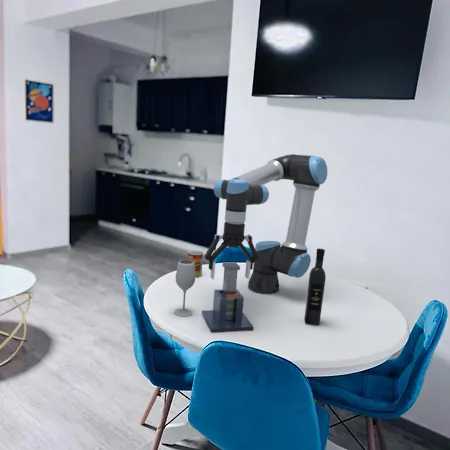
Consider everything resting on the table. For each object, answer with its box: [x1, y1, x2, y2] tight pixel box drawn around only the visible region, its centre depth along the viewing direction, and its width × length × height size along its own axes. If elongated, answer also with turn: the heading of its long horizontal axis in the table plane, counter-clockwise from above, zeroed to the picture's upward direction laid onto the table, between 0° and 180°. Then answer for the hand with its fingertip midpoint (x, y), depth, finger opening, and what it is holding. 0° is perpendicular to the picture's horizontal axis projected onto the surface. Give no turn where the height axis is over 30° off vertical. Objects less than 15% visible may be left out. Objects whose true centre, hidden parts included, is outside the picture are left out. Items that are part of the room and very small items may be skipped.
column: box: [222, 262, 241, 320], centre depth 152 cm, size 5×5×21 cm
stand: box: [201, 288, 255, 334], centre depth 153 cm, size 16×16×13 cm
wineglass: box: [173, 259, 196, 317], centre depth 157 cm, size 8×8×21 cm
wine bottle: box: [303, 248, 326, 327], centre depth 157 cm, size 6×6×30 cm
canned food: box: [186, 249, 204, 279], centre depth 204 cm, size 8×8×12 cm
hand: (229, 277), depth 150 cm, fingers open, 13 cm apart
